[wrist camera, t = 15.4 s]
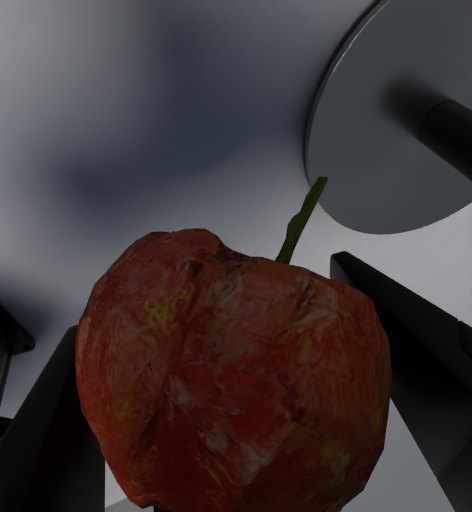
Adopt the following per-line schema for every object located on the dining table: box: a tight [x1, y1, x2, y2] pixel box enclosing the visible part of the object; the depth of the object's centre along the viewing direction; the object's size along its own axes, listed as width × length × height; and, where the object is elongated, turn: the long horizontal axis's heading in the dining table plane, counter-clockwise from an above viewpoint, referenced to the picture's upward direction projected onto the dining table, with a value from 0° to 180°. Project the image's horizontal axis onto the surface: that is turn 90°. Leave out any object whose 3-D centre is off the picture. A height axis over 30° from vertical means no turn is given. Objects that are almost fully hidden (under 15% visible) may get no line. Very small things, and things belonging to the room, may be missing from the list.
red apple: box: [75, 177, 392, 512], centre depth 9 cm, size 7×7×10 cm
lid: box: [305, 0, 472, 234], centre depth 20 cm, size 16×16×6 cm
